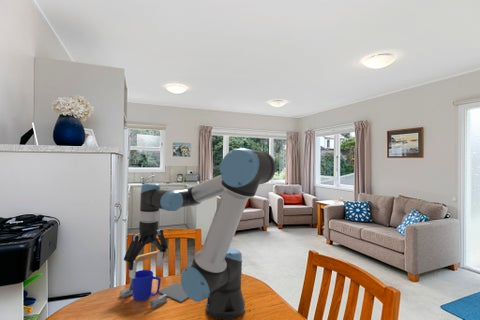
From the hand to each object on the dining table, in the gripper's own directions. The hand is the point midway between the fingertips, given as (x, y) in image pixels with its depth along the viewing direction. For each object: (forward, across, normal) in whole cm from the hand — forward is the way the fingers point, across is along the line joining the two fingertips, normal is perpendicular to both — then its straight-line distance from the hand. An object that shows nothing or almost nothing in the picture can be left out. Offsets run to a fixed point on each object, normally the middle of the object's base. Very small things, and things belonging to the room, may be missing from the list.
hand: (146, 271), depth 108 cm
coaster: (+11, -12, +8) cm, 18 cm away
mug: (+11, 0, +1) cm, 11 cm away
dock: (+11, 0, 0) cm, 11 cm away
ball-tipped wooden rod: (-2, -8, -7) cm, 11 cm away
